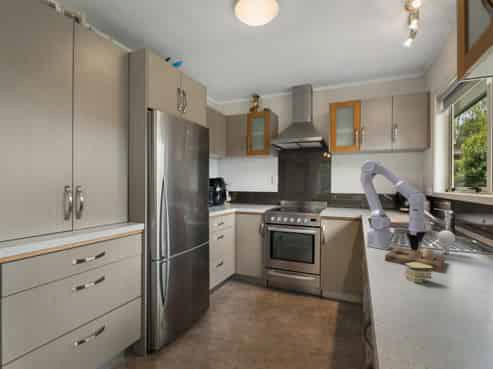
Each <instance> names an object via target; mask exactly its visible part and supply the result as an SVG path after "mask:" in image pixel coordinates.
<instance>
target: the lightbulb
mask: <svg viewBox="0 0 493 369" xmlns="http://www.w3.org/2000/svg"><path fill="white" fill-rule="evenodd" d="M437 239H438V241H439V242H440V245H441V252H442V253H443V254H444V255H448V254H450V249H451V246H452V244H454V242H455V240H456V235H455V233H454V232H452V231H451V230H448V229H447V230H444V229H443V230H440V231H439V232H438V234H437Z"/></svg>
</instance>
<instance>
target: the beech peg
mask: <svg viewBox="0 0 493 369" xmlns="http://www.w3.org/2000/svg"><path fill="white" fill-rule="evenodd" d="M420 244H421V245H422V243H421V242H420V241H419V245H418V249H417V250H411V249H410V251H415V252H421V246H420Z"/></svg>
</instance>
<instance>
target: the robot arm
mask: <svg viewBox="0 0 493 369" xmlns="http://www.w3.org/2000/svg"><path fill="white" fill-rule="evenodd" d="M360 173H361V174H360V179H359V181H360V183H361V186H362V188H363V191H364V195H365V197H366V200H367V203H368V205H369V209H370V210H371V211H370V212H371V215H370V218H371V222H370V223H371V226H372V227H371V228H368V230H367V237H366V238H367V239H366V240H367V241H366V247H370V248H373V249H375V248H376V249H381V250H386V251H388V250H389V249H391V248H392V246H391V245H390V228H389V227H391V224H392V219H391V218H390V217H389V216H388V215H387V212H386V211H385V210H384V209H383V207H382V204H381V201H380V199H379V196H378V193H377V190H376V188H375V185H374V181H373V180H374V178H375V177H376V176H377V175H381V176H383V177H384V178H386V179H387V180H388V181H389V182H391V183H392V184H393V185H394V187H395V190H396V191H397V192H398V193H399V194H401V196H403V197H405V198H404V199H407V202H408V203H409V210H408V212H409V213H408V216H409V218H408V220H409V221H408V222H409V223H408V228H407V229H408V230H409V231H410V232H407V233H406V237H407V239H408V240H409V241H408V242H409V244H410V251H411V250H417V249H418V245H419V241H420V242H421V244H420V247H421V246H422V243H423V239H424V237H425V235H426V232H428V229H426V228H425V203H426V202H427V197H426V195H425V194H424V193H423V192H421V191H420V190H419V189H418V188H417V189H416V188H415V187H414V186H413V185H412V183H411V182H410V181H406V180H401V179H400V178H399V177H398V176H396V175H395V173H393V172H392V171H391V170H390V169H389V168H387V167H386V166H385V165H384V164H381V162H379V161H376V160H375V161H374V160H372V159H371V160H370V159H367V160H366V161H364V162H363V164H362V165H361V172H360ZM419 191H420V192H419Z"/></svg>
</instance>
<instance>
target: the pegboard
mask: <svg viewBox="0 0 493 369" xmlns="http://www.w3.org/2000/svg"><path fill="white" fill-rule="evenodd" d="M445 260H446V259H445V256H443V255H438V254H434V261H432V260H427V259H423V252H421V251H420V252H415V251H411V249H410V250H409V249H403V248H397V247H394V248H393V249H391V250H390V251H388V253H386V254H385V255H384V261H385V262H387V263H388V262H389V263H392V264H393V263H394V264H398V265H403V266H406V267H409V265H407V264H405V263H411V262H418V263H422V264H426V265H429V266H432V267H433V268H428V269H430V270H432V271H433V272H435V273H441V270H442V268H443V267H444V265H445ZM426 269H427V268H426Z"/></svg>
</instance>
